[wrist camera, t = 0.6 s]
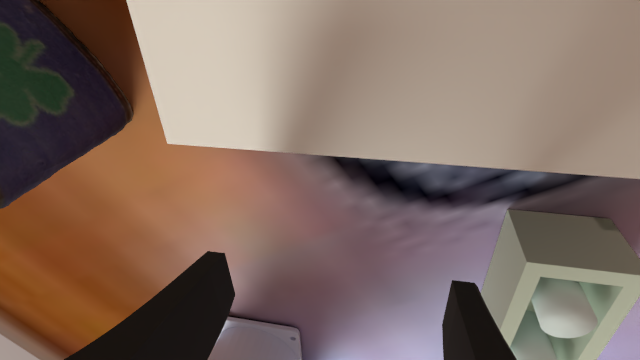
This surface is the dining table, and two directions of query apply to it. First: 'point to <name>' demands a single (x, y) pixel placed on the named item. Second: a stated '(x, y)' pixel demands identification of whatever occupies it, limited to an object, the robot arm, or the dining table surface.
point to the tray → (562, 262)
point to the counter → (402, 79)
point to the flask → (49, 98)
